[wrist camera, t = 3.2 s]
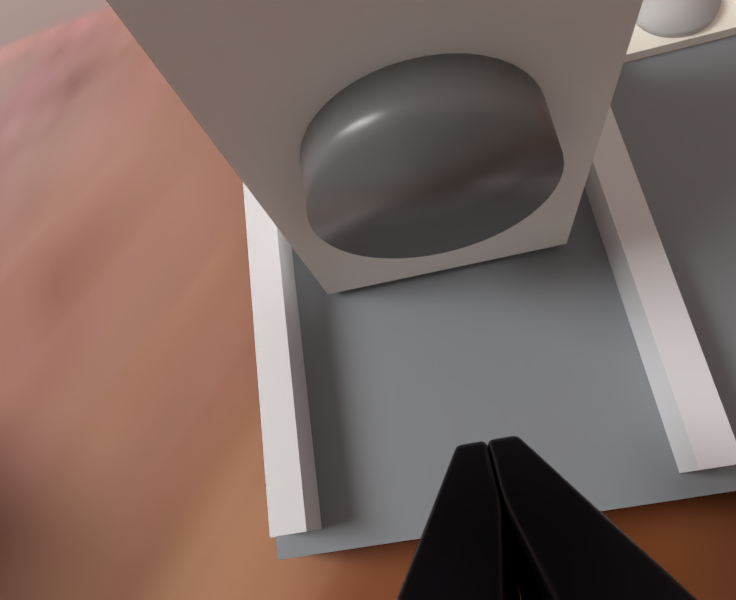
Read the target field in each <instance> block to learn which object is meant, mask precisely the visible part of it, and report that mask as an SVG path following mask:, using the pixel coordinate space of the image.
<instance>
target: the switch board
mask: <svg viewBox="0 0 736 600" xmlns="http://www.w3.org/2000/svg"><path fill="white" fill-rule="evenodd" d="M243 189H244V202H245V215H246V229H247V242H248V255H249V268H250V281H251V294H252V307H253V321H254V334H255V347H256V360H257V373H258V386H259V400H260V413H261V426H262V439H263V452H264V465H265V478H266V492H267V505H268V518H269V531H270V537H275V536H276V543H277V556H278V560H281V559H288V558H294V557H301V556H307V555H314V554H321V553H327V552H334V551H341V550H347V549H354V548H361V547H367V546H374V545H380V544H387V543H394V542H400V541H407V540H414V539H420V538H421V535H422V533H423V530H424V528H425V525H426V523H427V520H428V517H429V515H430V512H431V510H432V507H433V505H434V502H435V499H436V497H437V494H438V492H439V489H440V487H441V484H442V481H443V479H444V476H445V474H446V471H447V469H448V466H449V463H450V461H451V458H452V456H453V453H454V451H455V449H456V447H457V446H459V445H462V444H468V443H474V442H480V441H483V442H485V443H486V444H487V446H488V442H489V441H490V440H492V439H497V438H503V437H509V436H517V437H519V438H521V439H522V440H523V441H524V442H525V443H526V444H527V445H528V446H529V447H531V448H532V449H533V450H534V451H535V452H536V453H537V454H538V455H539V456H540V457H541V458H543V459H544V460H545V461H546V462H547V463H548V464H549V465H550V466H551V467H552V468H554V469H555V470H556V471H557V472H558V473H559V474H560V475H561V476H562V477H563V478H564V479H566V480H567V481H568V482H569V483H570V484H571V485H572V486H573V487H574V488H575V489H577V490H578V491H579V492H580V493H581V494H582V495H583V496H584V497H585V498H586V499H587V500H589V501H590V502H591V503H592V504H593V505H594V506H595V507H596V508H597V509H598V510H600V511H606V510H613V509H619V508H626V507H633V506H639V505H646V504H653V503H659V502H666V501H672V500H679V499H686V498H692V497H699V496H706V495H712V494H719V493H726V492H732V491H736V0H643V3H642V6H641V9H640V12H639V15H638V18H637V22H636V25H635V28H634V31H633V34H632V37H631V41H630V44H629V47H628V50H627V53H626V56H625V60H624V63H623V66H622V69H621V72H620V76H619V79H618V82H617V85H616V88H615V91H614V95H613V98H612V101H611V104H610V107H609V110H608V114H607V117H606V120H605V123H604V126H603V129H602V133H601V136H600V139H599V142H598V145H597V148H596V152H595V155H594V158H593V161H592V164H591V167H590V171H589V174H588V177H587V180H586V183H585V187H584V190H583V193H582V196H581V199H580V202H579V206H578V209H577V212H576V215H575V218H574V221H573V225H572V228H571V231H570V234H569V237H568V240H567V244H563V245H559V246H554V247H549V248H545V249H540V250H535V251H530V252H526V253H521V254H516V255H511V256H507V257H502V258H497V259H493V260H488V261H483V262H478V263H474V264H469V265H464V266H459V267H455V268H450V269H445V270H441V271H436V272H431V273H426V274H422V275H417V276H412V277H407V278H403V279H398V280H393V281H389V282H384V283H379V284H374V285H370V286H365V287H360V288H355V289H351V290H346V291H341V292H337V293H332V294H327V293H326V291H325V290H324V289H323V287H322V286H321V285H320V283H319V282H318V281H317V279H316V278H315V277H314V275H313V274H312V273H311V271H310V270H309V269H308V268H307V266H306V265H305V264H304V262H303V261H302V260H301V258H300V257H299V256H298V254H297V253H296V252H295V250H294V249H293V248H292V246H291V245H290V244H289V242H288V241H287V240H286V238H285V237H284V236H283V234H282V233H281V232H280V230H279V229H278V228H277V226H276V225H275V224H274V222H273V221H272V220H271V218H270V217H269V216H268V214H267V213H266V212H265V210H264V209H263V208H262V206H261V205H260V204H259V202H258V201H257V200H256V198H255V197H254V196H253V194H252V193H251V192H250V190H249V189H248V188H247V187H246V185H245V184H244V183H243Z"/></svg>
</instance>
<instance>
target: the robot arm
mask: <svg viewBox="0 0 736 600" xmlns="http://www.w3.org/2000/svg"><path fill="white" fill-rule="evenodd" d="M518 588H519V589H518ZM519 593H520V594H519ZM520 596H521V600H697V599H696V598H695V597H694V596H693V595H692V594H690V593H689V592H688V591H687V590H686V589H685V588H684V587H683V586H682V585H681V584H680V583H678V582H677V581H676V580H675V579H674V578H673V577H672V576H671V575H670V574H669V573H667V572H666V571H665V570H664V569H663V568H662V567H661V566H660V565H659V564H658V563H657V562H655V561H654V560H653V559H652V558H651V557H650V556H649V555H648V554H647V553H646V552H644V551H643V550H642V549H641V548H640V547H639V546H638V545H637V544H636V543H635V542H634V541H632V540H631V539H630V538H629V537H628V536H627V535H626V534H625V533H624V532H623V531H621V530H620V529H619V528H618V527H617V526H616V525H615V524H614V523H613V522H612V521H610V520H609V519H608V518H607V517H606V516H605V515H604V514H603V513H602V512H601V511H600V510H598V509H597V508H596V507H595V506H594V505H593V504H592V503H591V502H590V501H589V500H587V499H586V498H585V497H584V496H583V495H582V494H581V493H580V492H579V491H578V490H577V489H575V488H574V487H573V486H572V485H571V484H570V483H569V482H568V481H567V480H566V479H564V478H563V477H562V476H561V475H560V474H559V473H558V472H557V471H556V470H555V469H554V468H552V467H551V466H550V465H549V464H548V463H547V462H546V461H545V460H544V459H543V458H541V457H540V456H539V455H538V454H537V453H536V452H535V451H534V450H533V449H532V448H531V447H529V446H528V445H527V444H526V443H525V442H524V441H523V440H522V439H521V438H519V437H517V436H509V437H503V438H497V439H492V440H490V441H489V442H488V446H487V444H486V443H485V442H483V441H480V442H474V443H468V444H462V445H459V446H457V447H456V449H455V451H454V453H453V456H452V458H451V461H450V463H449V466H448V469H447V471H446V474H445V476H444V479H443V481H442V484H441V487H440V489H439V492H438V494H437V497H436V499H435V502H434V505H433V507H432V510H431V512H430V515H429V517H428V520H427V523H426V525H425V528H424V530H423V533H422V535H421V538H420V541H419V543H418V546H417V548H416V551H415V553H414V556H413V559H412V561H411V564H410V566H409V569H408V571H407V574H406V577H405V579H404V582H403V584H402V587H401V589H400V592H399V595H398V597H397V600H520Z"/></svg>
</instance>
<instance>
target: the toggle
mask: <svg viewBox="0 0 736 600" xmlns="http://www.w3.org/2000/svg"><path fill="white" fill-rule="evenodd" d="M106 1H107V2H108V3H109V5H110V6H111V7H112V9H113V10H114V11H115V13H116V14H117V15H118V17H119V18H120V19H121V20H122V22H123V23H124V24H125V26H126V27H127V28H128V30H129V31H130V32H131V34H132V35H133V36H134V38H135V39H136V40H137V42H138V43H139V44H140V46H141V47H142V48H143V50H144V51H145V52H146V54H147V55H148V56H149V58H150V59H151V60H152V62H153V63H154V64H155V66H156V67H157V68H158V70H159V71H160V72H161V74H162V75H163V76H164V78H165V79H166V80H167V82H168V83H169V84H170V86H171V87H172V88H173V90H174V91H175V92H176V94H177V95H178V96H179V98H180V99H181V100H182V102H183V103H184V104H185V105H186V107H187V108H188V109H189V111H190V112H191V113H192V115H193V116H194V117H195V119H196V120H197V121H198V123H199V124H200V125H201V127H202V128H203V129H204V131H205V132H206V133H207V135H208V136H209V137H210V139H211V140H212V141H213V143H214V144H215V145H216V147H217V148H218V149H219V151H220V152H221V153H222V155H223V156H224V157H225V159H226V160H227V161H228V163H229V164H230V165H231V167H232V168H233V169H234V171H235V172H236V173H237V175H238V176H239V177H240V179H241V180H242V181H243V183H244V184H245V185H246V187H247V188H248V189H249V190H250V192H251V193H252V194H253V196H254V197H255V198H256V200H257V201H258V202H259V204H260V205H261V206H262V208H263V209H264V210H265V212H266V213H267V214H268V216H269V217H270V218H271V220H272V221H273V222H274V224H275V225H276V226H277V228H278V229H279V230H280V232H281V233H282V234H283V236H284V237H285V238H286V240H287V241H288V242H289V244H290V245H291V246H292V248H293V249H294V250H295V252H296V253H297V254H298V256H299V257H300V258H301V260H302V261H303V262H304V264H305V265H306V266H307V268H308V269H309V270H310V271H311V273H312V274H313V275H314V277H315V278H316V279H317V281H318V282H319V283H320V285H321V286H322V287H323V289H324V290H325V291H326V293H327V294H332V293H337V292H341V291H346V290H351V289H355V288H360V287H365V286H370V285H374V284H379V283H384V282H389V281H393V280H398V279H403V278H407V277H412V276H417V275H422V274H426V273H431V272H436V271H441V270H445V269H450V268H455V267H459V266H464V265H469V264H474V263H478V262H483V261H488V260H493V259H497V258H502V257H507V256H511V255H516V254H521V253H526V252H530V251H535V250H540V249H545V248H549V247H554V246H559V245H563V244H567V240H568V237H569V234H570V231H571V228H572V225H573V221H574V218H575V215H576V212H577V209H578V206H579V202H580V199H581V196H582V193H583V190H584V187H585V183H586V180H587V177H588V174H589V171H590V167H591V164H592V161H593V158H594V155H595V152H596V148H597V145H598V142H599V139H600V136H601V133H602V129H603V126H604V123H605V120H606V117H607V114H608V110H609V107H610V104H611V101H612V98H613V95H614V91H615V88H616V85H617V82H618V79H619V76H620V72H621V69H622V66H623V63H624V60H625V56H626V53H627V50H628V47H629V44H630V41H631V37H632V34H633V31H634V28H635V25H636V22H637V18H638V15H639V12H640V9H641V6H642V3H643V0H106Z"/></svg>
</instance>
